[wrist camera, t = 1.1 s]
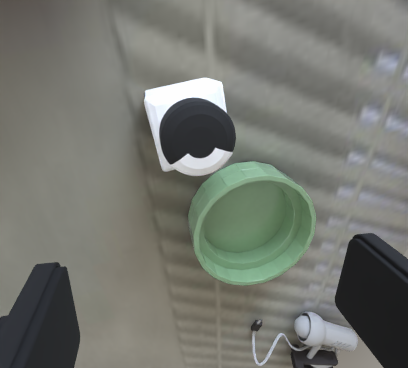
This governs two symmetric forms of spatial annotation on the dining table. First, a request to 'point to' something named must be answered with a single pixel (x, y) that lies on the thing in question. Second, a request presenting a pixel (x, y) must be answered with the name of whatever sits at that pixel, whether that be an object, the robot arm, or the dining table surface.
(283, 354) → the dining table surface
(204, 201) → the bowl
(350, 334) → the clip-on lamp
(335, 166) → the dining table surface
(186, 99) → the medicine bottle
